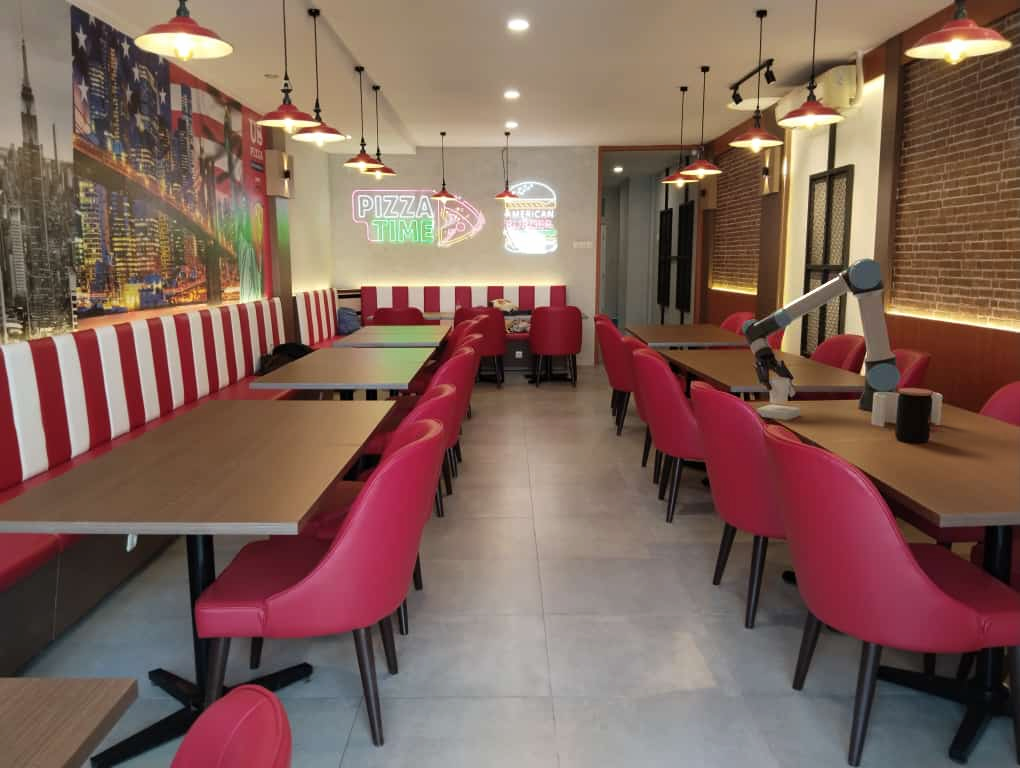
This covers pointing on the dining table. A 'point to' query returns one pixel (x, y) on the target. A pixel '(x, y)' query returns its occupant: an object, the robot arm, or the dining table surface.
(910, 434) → the coffee jar
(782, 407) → the plinth
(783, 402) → the white cup
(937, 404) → the bracket
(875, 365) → the robot arm
